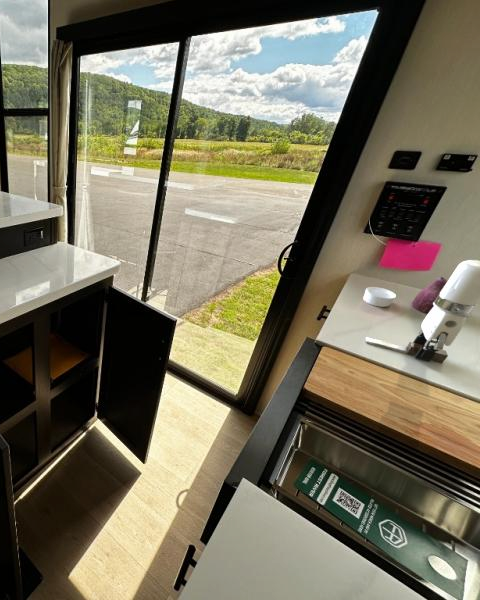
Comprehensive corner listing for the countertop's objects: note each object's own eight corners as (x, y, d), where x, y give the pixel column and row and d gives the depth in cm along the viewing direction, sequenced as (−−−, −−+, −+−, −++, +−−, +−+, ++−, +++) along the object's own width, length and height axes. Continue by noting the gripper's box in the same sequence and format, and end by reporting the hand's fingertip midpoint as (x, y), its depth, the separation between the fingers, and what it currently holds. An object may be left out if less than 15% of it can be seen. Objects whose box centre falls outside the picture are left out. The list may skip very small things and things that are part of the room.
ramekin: (368, 306, 120) (373, 297, 118) (356, 295, 127) (361, 285, 125) (396, 309, 118) (401, 299, 116) (382, 297, 126) (387, 287, 123)
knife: (440, 358, 96) (445, 350, 94) (442, 363, 94) (448, 355, 92) (365, 338, 105) (369, 331, 103) (365, 343, 103) (369, 335, 101)
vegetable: (418, 321, 117) (431, 289, 108) (403, 303, 124) (414, 272, 116) (457, 319, 113) (473, 285, 104) (439, 301, 121) (453, 268, 112)
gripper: (484, 323, 80) (443, 375, 89) (464, 294, 92) (430, 342, 101) (443, 315, 83) (408, 365, 93) (429, 287, 95) (399, 334, 105)
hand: (420, 353), depth 97 cm, fingers open, 5 cm apart
